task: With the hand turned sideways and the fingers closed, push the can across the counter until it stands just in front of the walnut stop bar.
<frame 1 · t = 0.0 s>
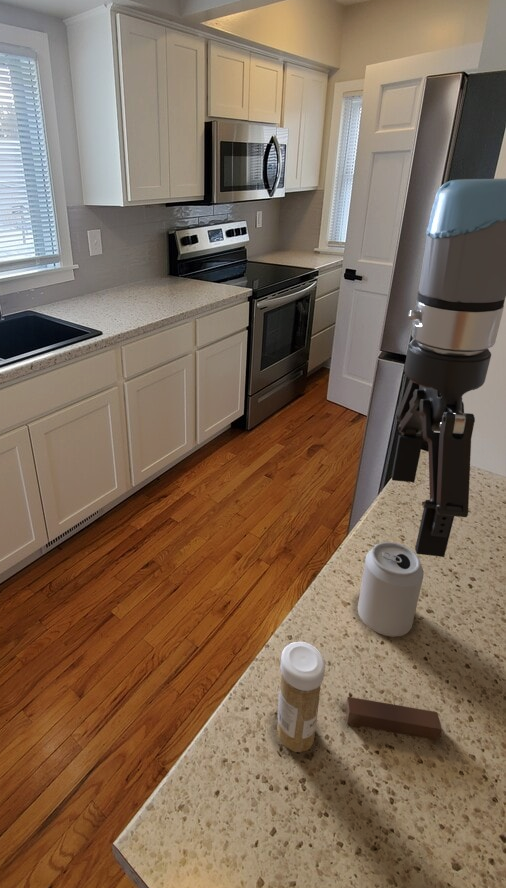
hand: (414, 512, 58), 23 cm above the countertop, tool pointing down, fingers open, 13 cm apart
sprinkles bottle: (294, 738, 57), on the countertop
stop bar: (389, 728, 57), on the countertop
can: (383, 619, 71), on the countertop
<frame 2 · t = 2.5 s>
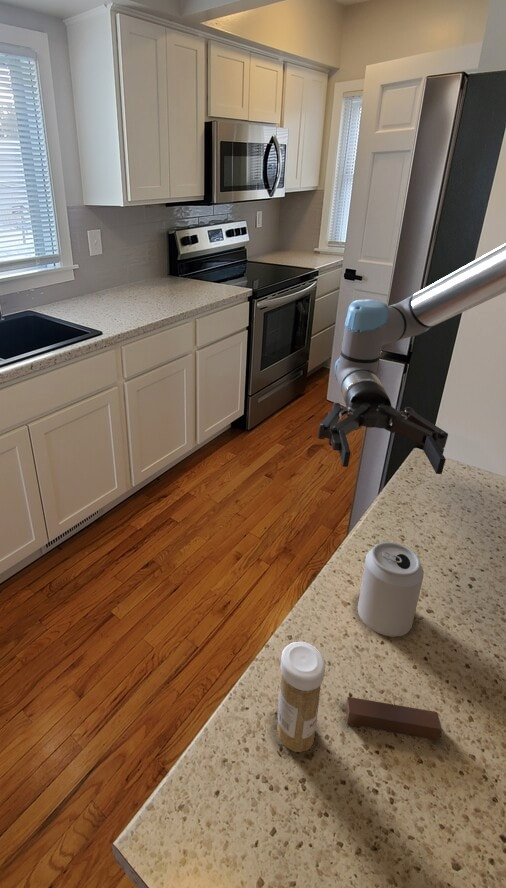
hand: (393, 463, 73), 20 cm above the countertop, tool horizontal, fingers open, 13 cm apart
nothing on the countertop moved.
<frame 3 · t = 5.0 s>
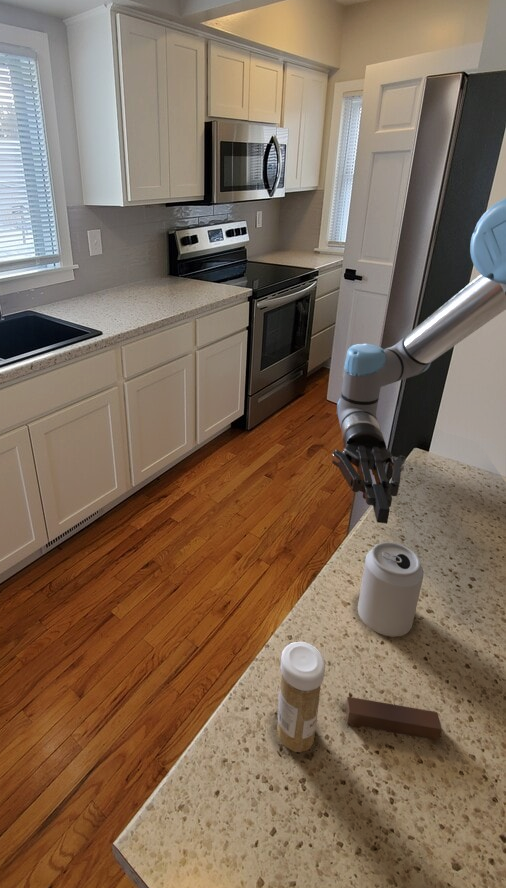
hand: (383, 516, 75), 11 cm above the countertop, tool horizontal, fingers closed
nothing on the countertop moved.
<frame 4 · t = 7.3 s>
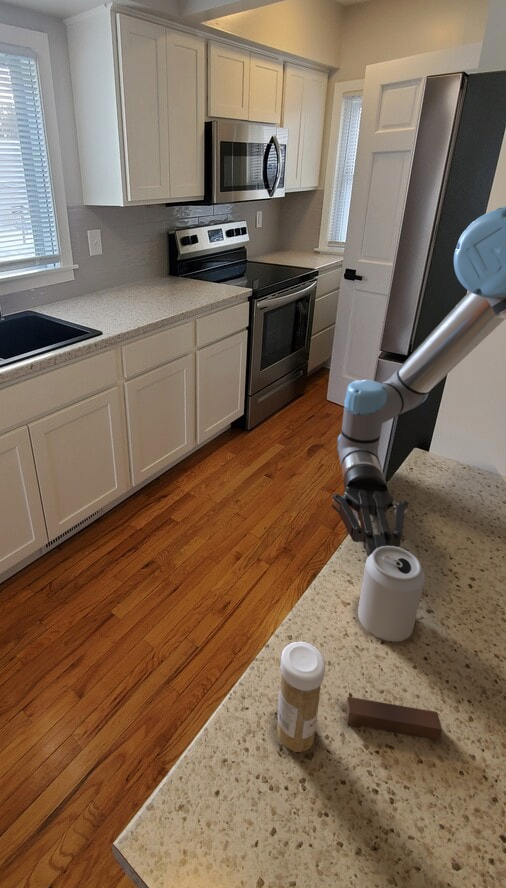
hand: (384, 571, 72), 6 cm above the countertop, tool horizontal, fingers closed
can: (383, 624, 71), on the countertop, touching gripper
everything else where it was.
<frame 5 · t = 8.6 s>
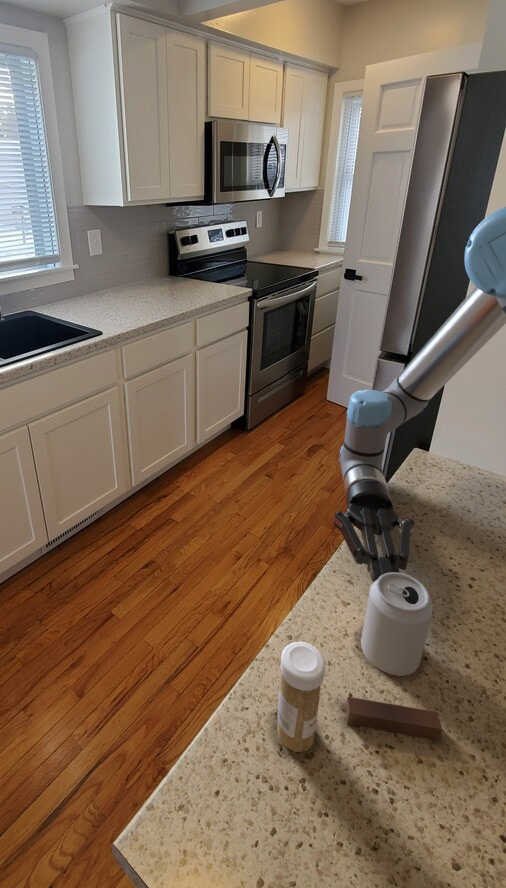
hand: (390, 598, 67), 6 cm above the countertop, tool horizontal, fingers closed
can: (388, 655, 66), on the countertop, touching gripper
everything else where it was.
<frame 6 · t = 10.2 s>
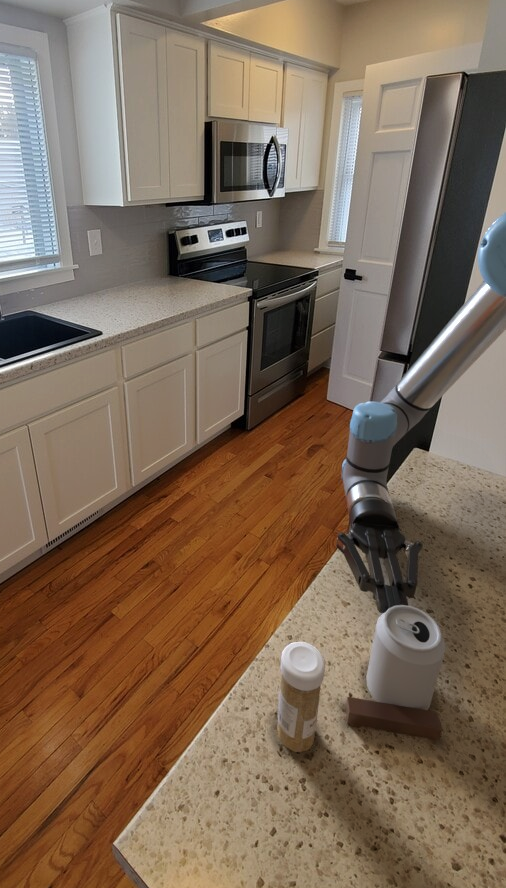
hand: (398, 632, 62), 6 cm above the countertop, tool horizontal, fingers closed
can: (396, 693, 61), on the countertop, touching gripper, stop bar
everything else where it was.
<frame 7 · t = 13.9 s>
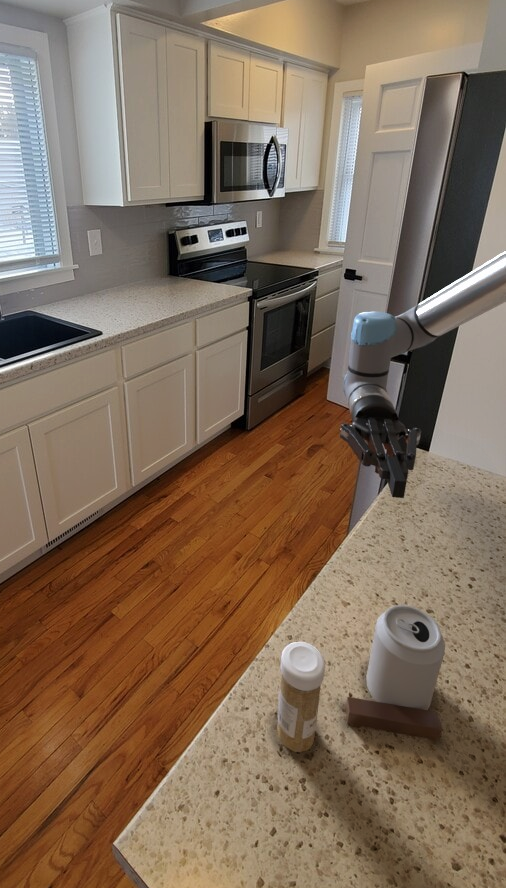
hand: (399, 489, 67), 20 cm above the countertop, tool horizontal, fingers closed
can: (396, 693, 61), on the countertop
everything else where it was.
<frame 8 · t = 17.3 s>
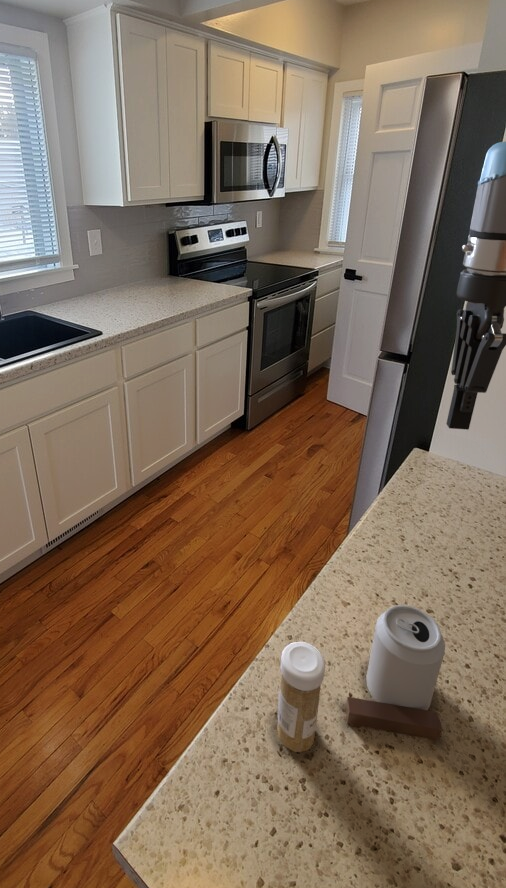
hand: (457, 426, 74), 24 cm above the countertop, tool pointing down, fingers closed
nothing on the countertop moved.
at the end: can inside the target area (1.8 cm from its centre), on the countertop; can tilted 0°; can moved 11.3 cm from its start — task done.
